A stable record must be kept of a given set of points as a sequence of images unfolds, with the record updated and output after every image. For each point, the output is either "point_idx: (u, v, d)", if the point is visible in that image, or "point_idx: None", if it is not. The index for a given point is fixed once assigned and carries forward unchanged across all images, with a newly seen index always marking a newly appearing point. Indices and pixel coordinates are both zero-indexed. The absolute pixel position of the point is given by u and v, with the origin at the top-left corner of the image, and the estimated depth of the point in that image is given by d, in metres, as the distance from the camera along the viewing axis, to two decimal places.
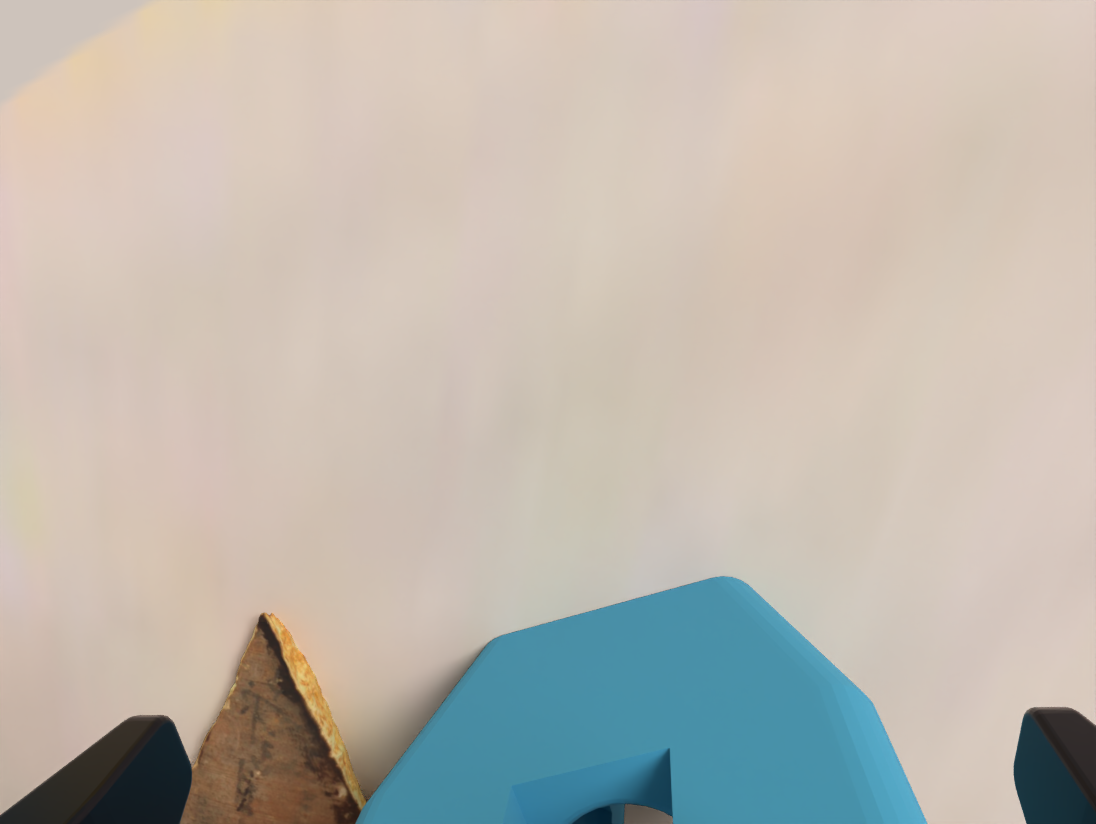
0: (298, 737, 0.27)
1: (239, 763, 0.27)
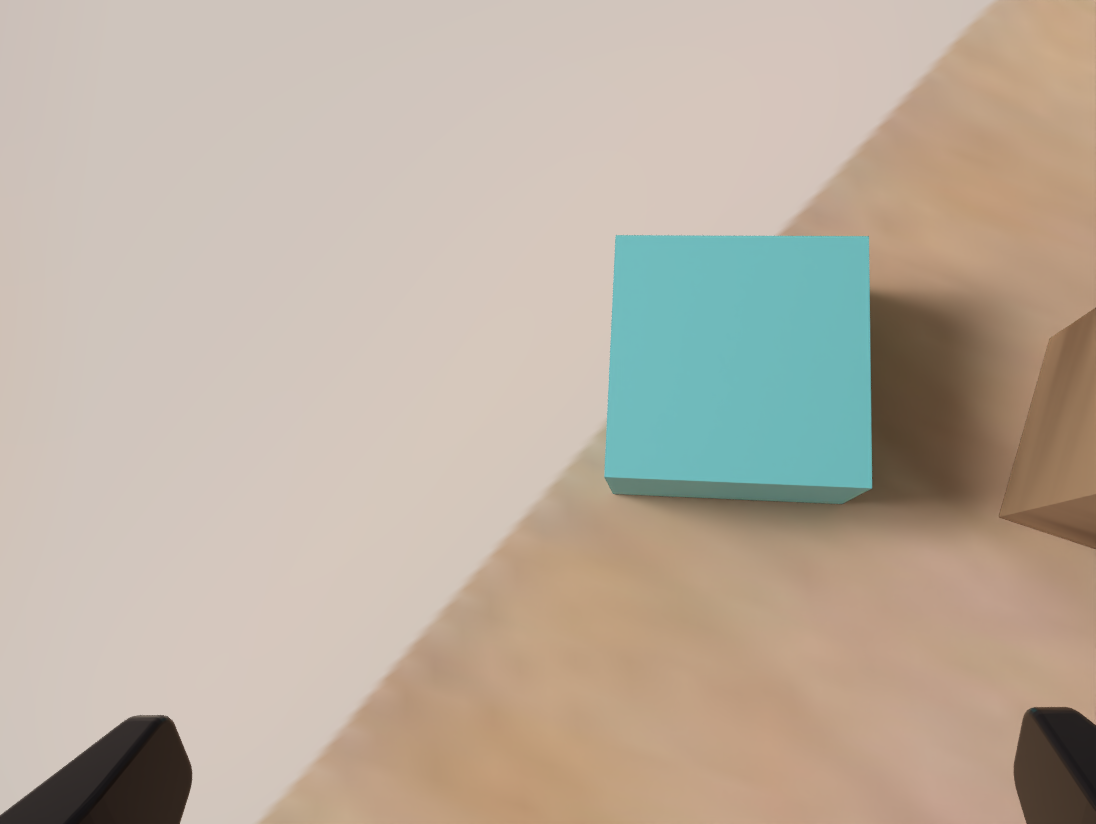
0: None
1: None
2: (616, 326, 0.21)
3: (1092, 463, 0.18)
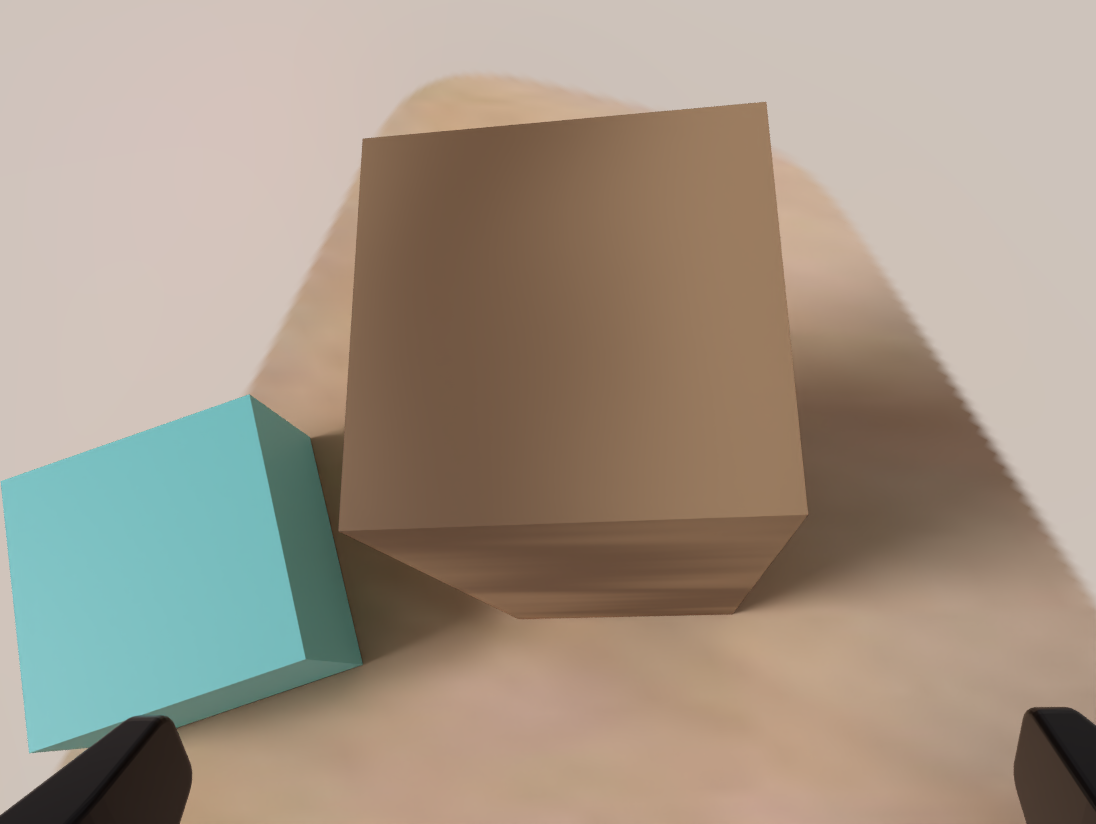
0: None
1: None
2: (15, 578, 0.19)
3: None
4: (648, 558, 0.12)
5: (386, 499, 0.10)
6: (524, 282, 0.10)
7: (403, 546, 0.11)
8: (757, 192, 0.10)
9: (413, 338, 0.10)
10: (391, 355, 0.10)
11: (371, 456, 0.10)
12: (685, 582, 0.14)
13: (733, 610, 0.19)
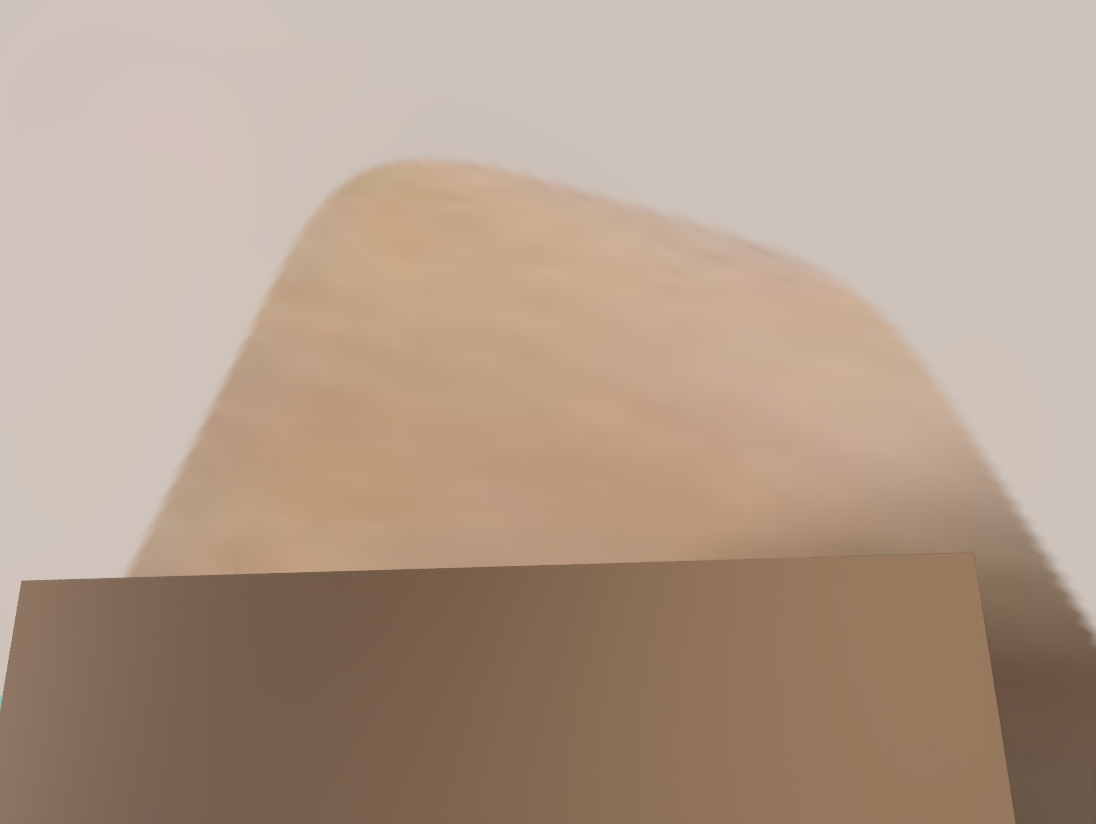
0: None
1: None
2: None
3: None
4: None
5: None
6: None
7: None
8: None
9: None
10: None
11: None
12: None
13: None
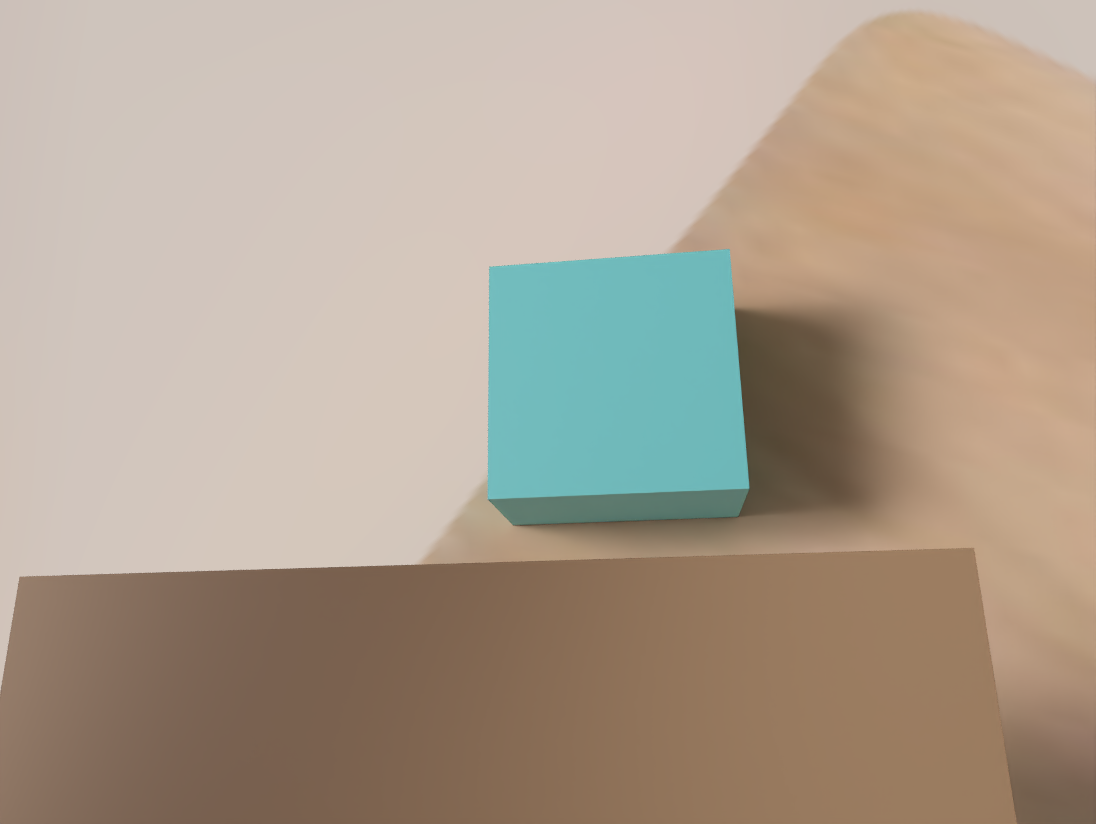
0: None
1: None
2: (493, 352, 0.22)
3: None
4: None
5: None
6: None
7: None
8: None
9: None
10: None
11: None
12: None
13: None
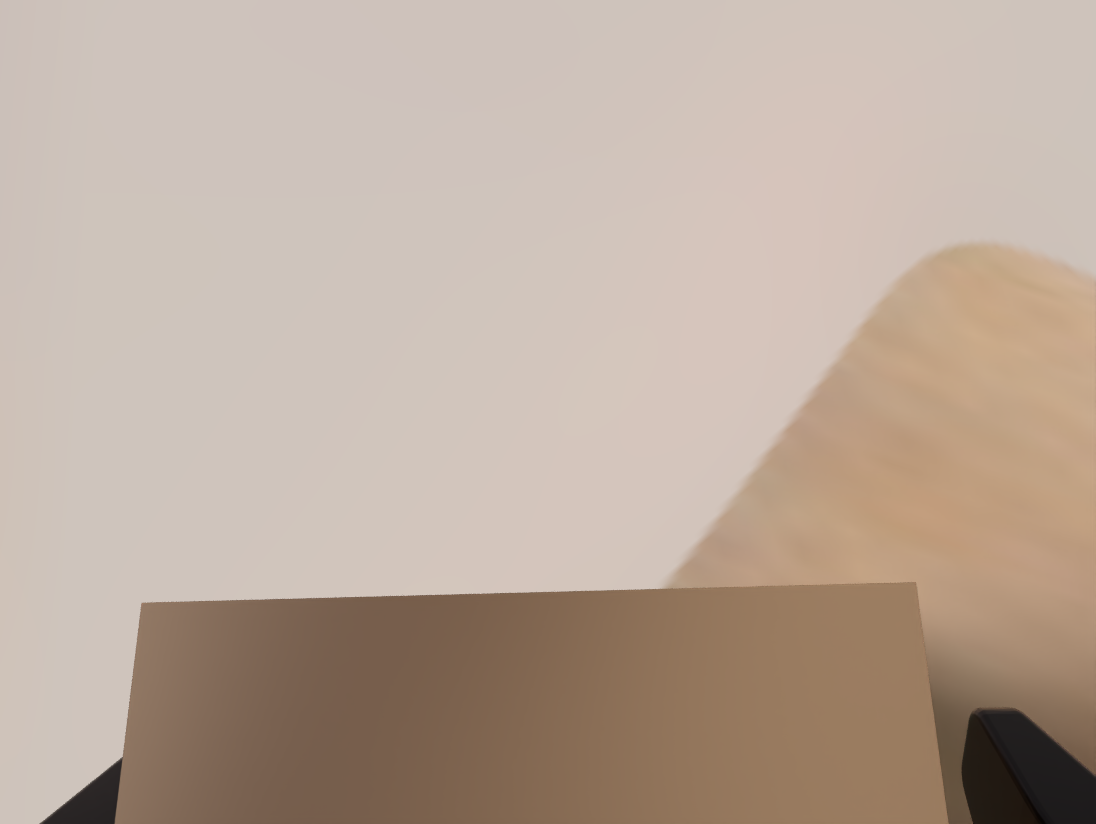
0: None
1: None
2: None
3: None
4: None
5: None
6: None
7: None
8: (907, 800, 0.05)
9: None
10: None
11: None
12: None
13: None
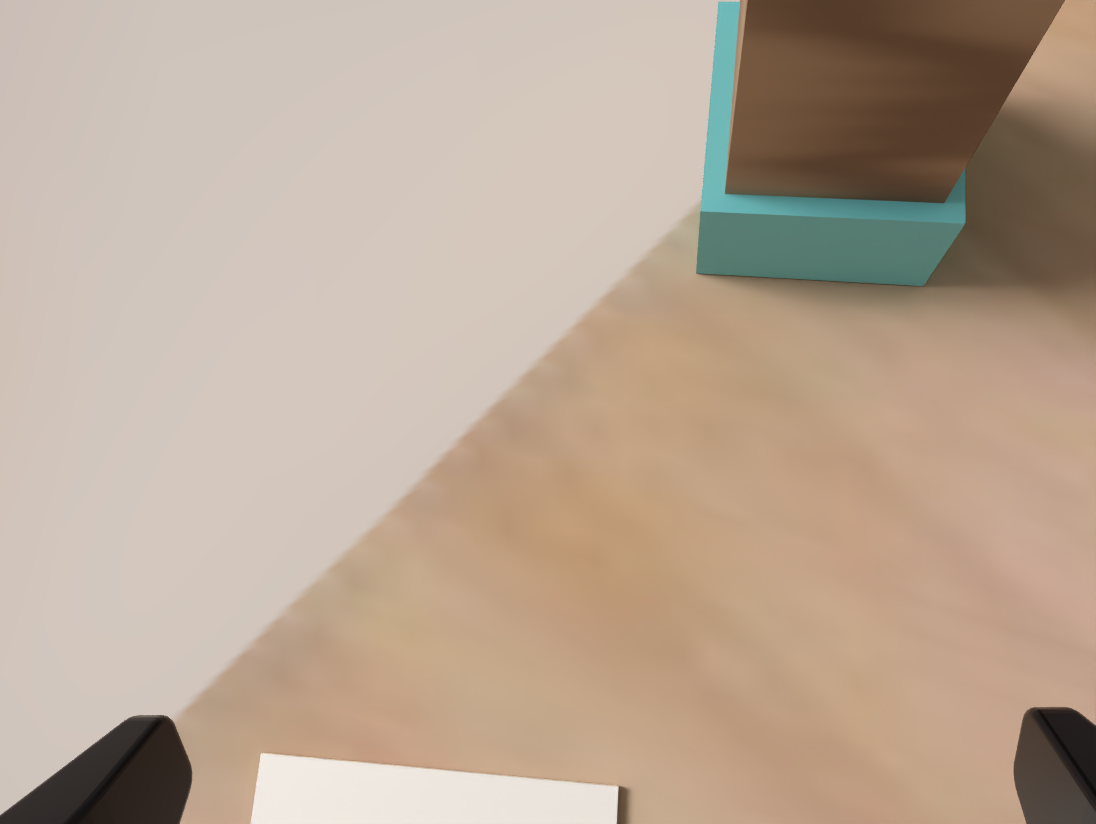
0: None
1: None
2: (716, 79, 0.22)
3: (742, 34, 0.17)
4: None
5: None
6: None
7: None
8: None
9: None
10: None
11: None
12: (984, 6, 0.15)
13: (956, 179, 0.19)
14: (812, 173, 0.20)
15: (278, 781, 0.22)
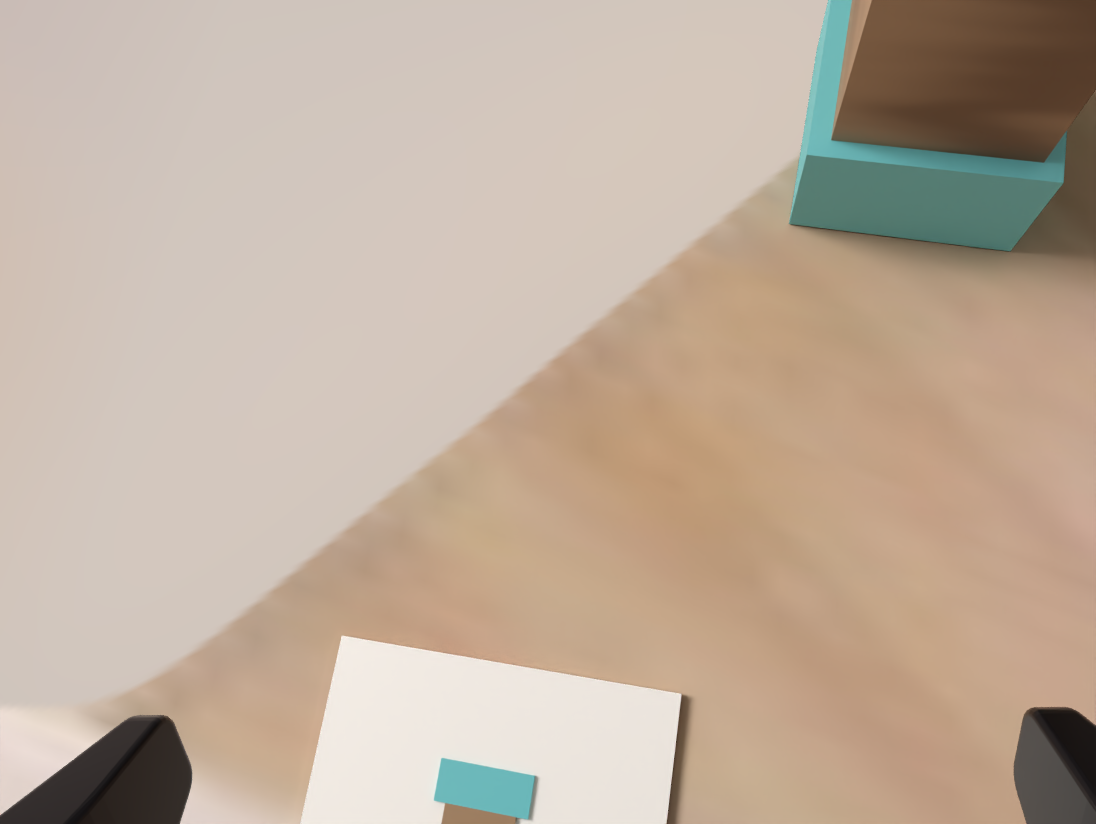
0: None
1: None
2: (830, 34, 0.23)
3: None
4: None
5: None
6: None
7: None
8: None
9: None
10: None
11: None
12: None
13: (1059, 137, 0.20)
14: (920, 122, 0.21)
15: (356, 662, 0.23)
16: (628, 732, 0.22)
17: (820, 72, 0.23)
